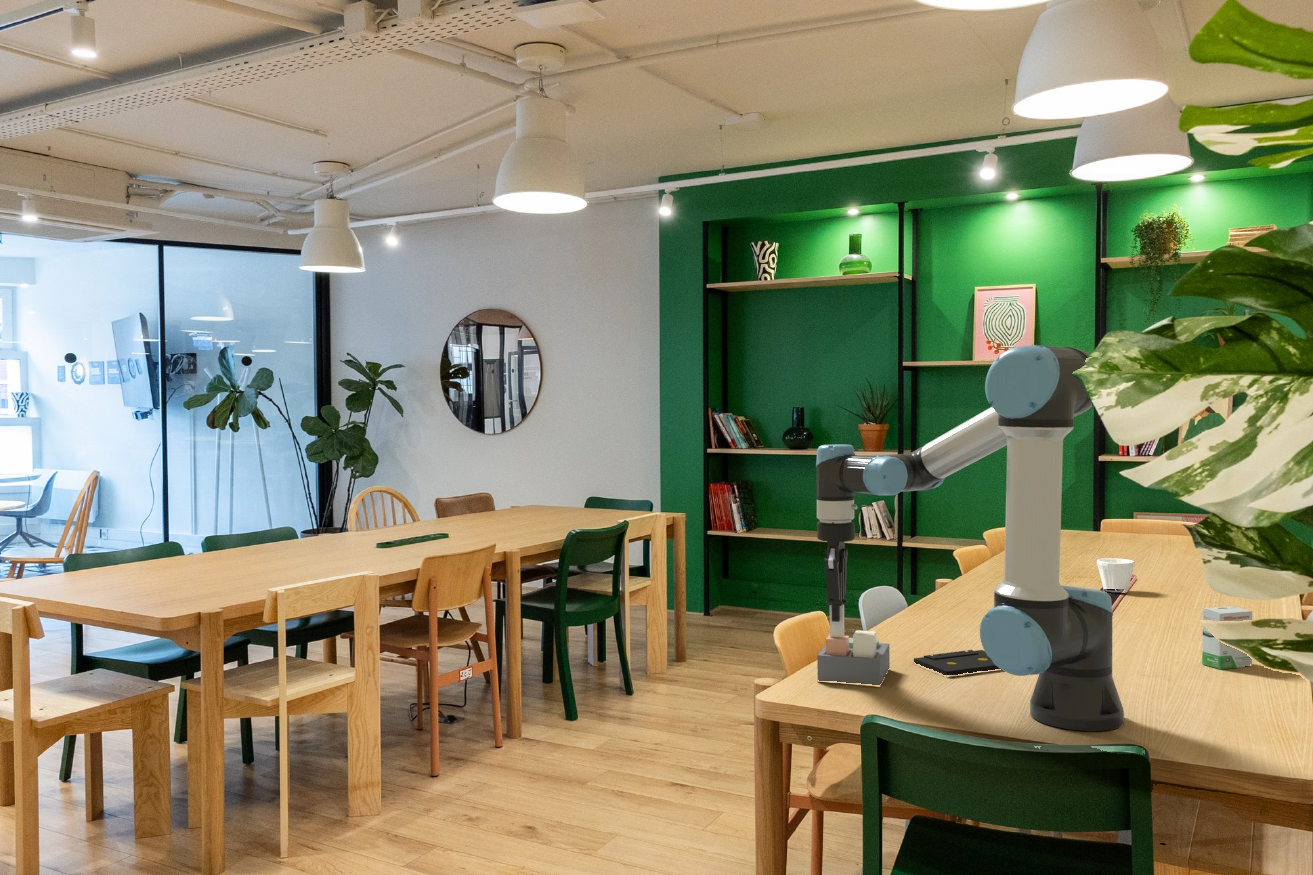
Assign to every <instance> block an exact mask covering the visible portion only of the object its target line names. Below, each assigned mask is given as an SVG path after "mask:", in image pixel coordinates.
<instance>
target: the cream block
mask: <svg viewBox="0 0 1313 875" xmlns="http://www.w3.org/2000/svg"><path fill="white" fill-rule="evenodd" d="M852 638H853V657H866V658H876V657H877V652H876V640H877V631H874V630H872V631H870V630H859V629H858V630H855V632H854V633H853V635H852Z"/></svg>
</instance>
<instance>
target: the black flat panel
mask: <svg viewBox="0 0 1313 875" xmlns="http://www.w3.org/2000/svg"><path fill="white" fill-rule="evenodd" d="M914 662H915V663H916V664H920V665H921V666H924V667H926V668H929V669H933V670H934V671H937V672H939V673H942V674H943V675H958V674H963V673H967V672H968V673H973V672H977V671H988V670H995V669H1000V668H999V667H997V666H996V665H995V664H994V663H993V661H992V660H991V658H990V657H988V656H987V654H986V652H985V650H984V649H978V650H973V649H968V650H959V651H951V652H944V653H942V652H941V653H935V654H926V655H923V656H921V657H913V663H914Z"/></svg>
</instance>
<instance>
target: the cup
mask: <svg viewBox="0 0 1313 875" xmlns="http://www.w3.org/2000/svg"><path fill="white" fill-rule="evenodd" d="M1096 565H1097V568H1098V572H1099V576H1100V580H1101V584H1102V588H1103V590H1104V589H1115V590H1116V589H1124V590H1126V593H1125V594H1127V593H1128V591H1129V588H1130V584H1131V579H1132V575H1133V572H1134V568H1135V561H1134V560H1131V559H1127V558H1126V559H1125V558H1114V557H1113V558H1109V557H1106V558H1098V559H1097V560H1096Z"/></svg>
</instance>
